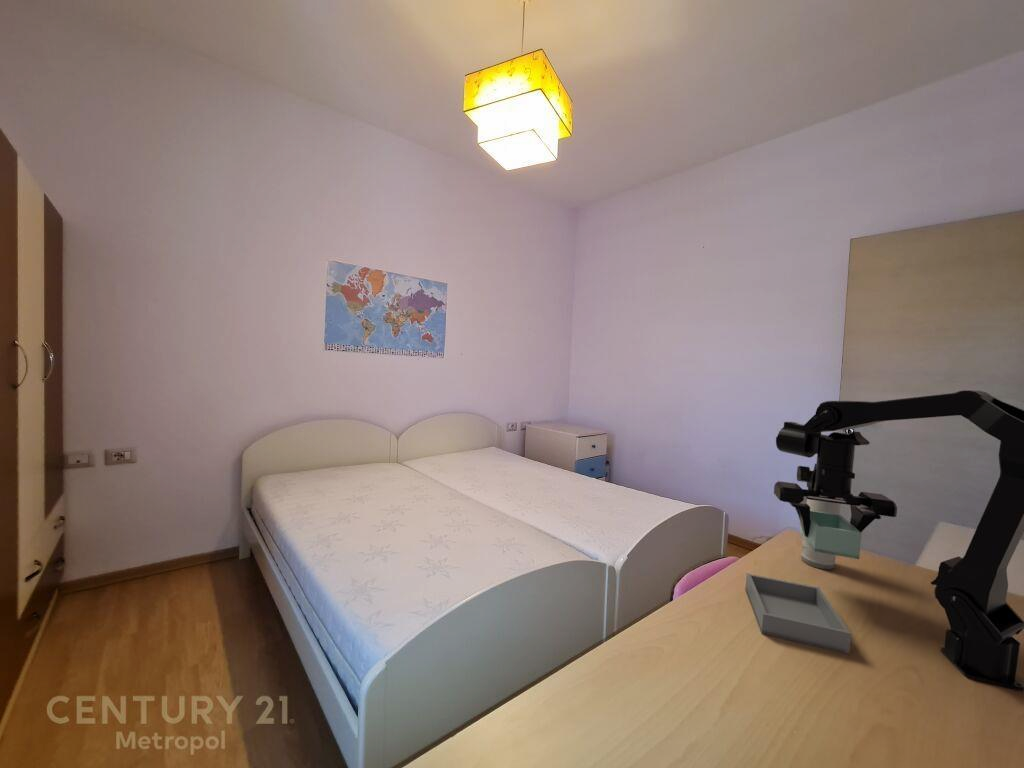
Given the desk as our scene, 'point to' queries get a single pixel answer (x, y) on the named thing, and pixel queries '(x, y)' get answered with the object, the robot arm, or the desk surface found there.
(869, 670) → the desk surface
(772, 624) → the tray
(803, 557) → the travel mug
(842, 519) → the small tote
